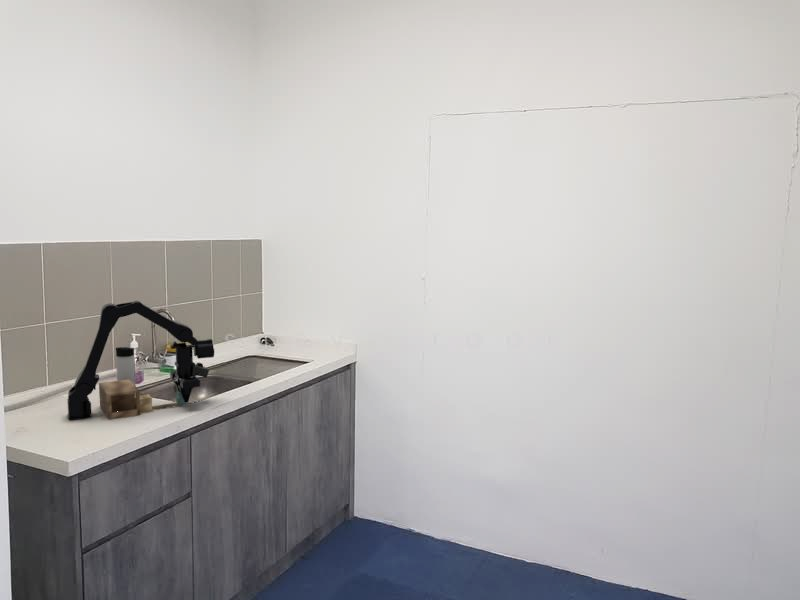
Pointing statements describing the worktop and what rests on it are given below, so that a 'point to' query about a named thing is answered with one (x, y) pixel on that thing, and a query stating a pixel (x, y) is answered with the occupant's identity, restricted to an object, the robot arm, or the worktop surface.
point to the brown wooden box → (119, 399)
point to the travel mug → (125, 364)
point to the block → (147, 405)
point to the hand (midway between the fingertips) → (185, 401)
